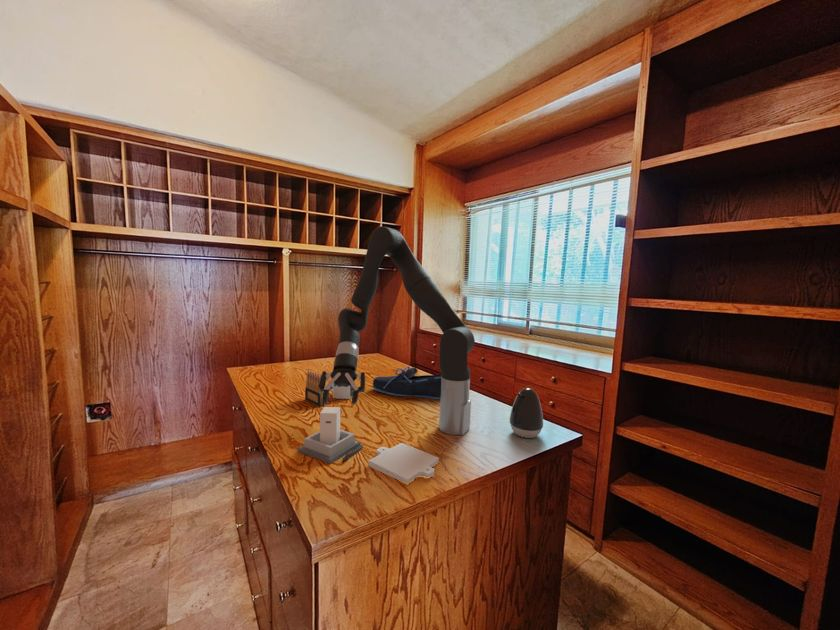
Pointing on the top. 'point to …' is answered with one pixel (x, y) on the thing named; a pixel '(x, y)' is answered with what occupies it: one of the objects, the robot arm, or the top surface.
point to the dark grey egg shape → (526, 414)
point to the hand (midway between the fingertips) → (339, 403)
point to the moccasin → (409, 384)
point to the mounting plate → (404, 462)
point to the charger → (330, 425)
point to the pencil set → (313, 389)
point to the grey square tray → (329, 447)
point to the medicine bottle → (343, 392)
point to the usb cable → (352, 452)
